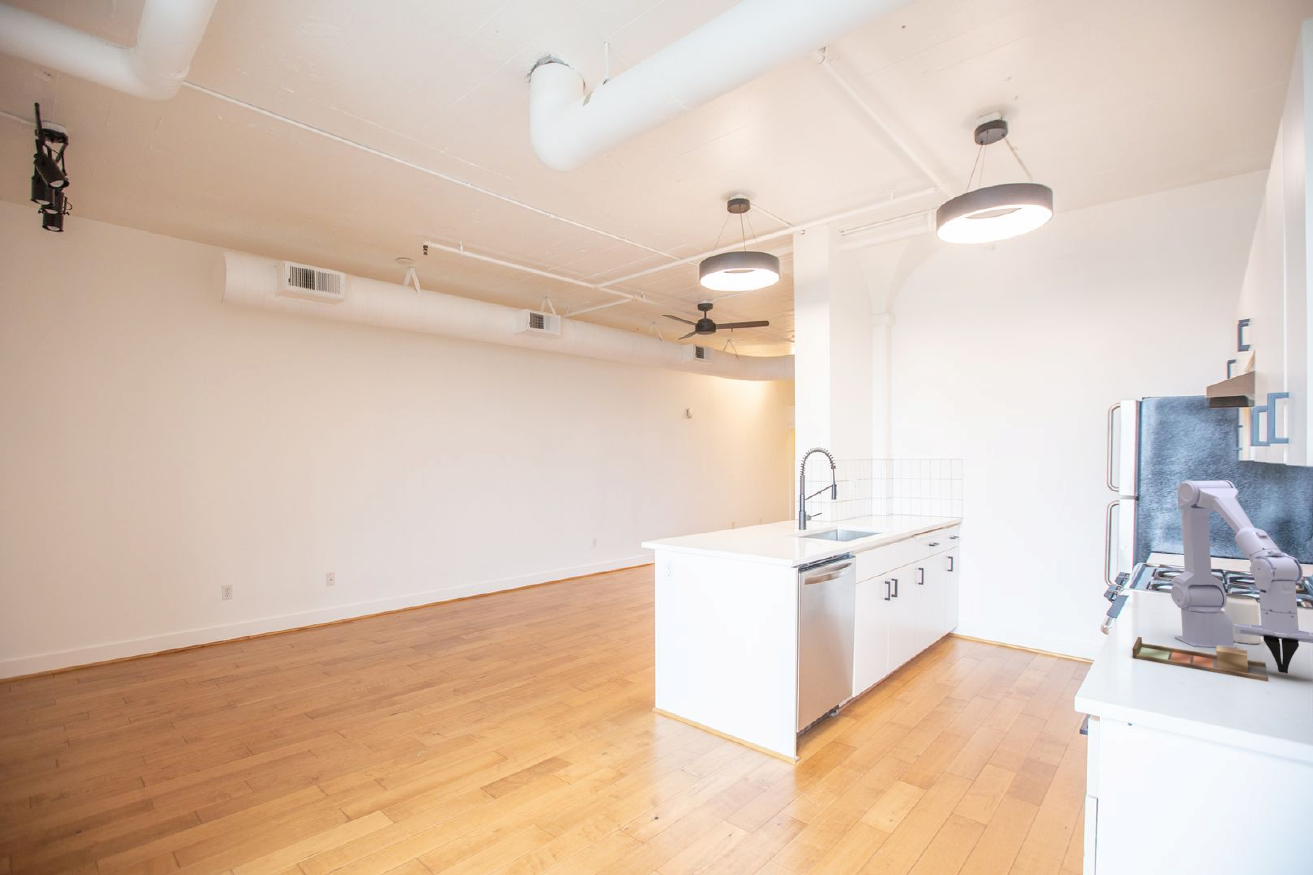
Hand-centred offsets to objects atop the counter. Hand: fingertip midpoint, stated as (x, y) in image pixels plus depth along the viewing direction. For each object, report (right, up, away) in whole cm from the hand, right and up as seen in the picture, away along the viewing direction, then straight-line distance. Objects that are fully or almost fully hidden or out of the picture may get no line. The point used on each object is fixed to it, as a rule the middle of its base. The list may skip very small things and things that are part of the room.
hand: (1282, 671), depth 129 cm
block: (-6, -1, +6) cm, 8 cm away
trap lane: (-10, -2, +10) cm, 14 cm away
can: (+17, -2, +25) cm, 31 cm away
